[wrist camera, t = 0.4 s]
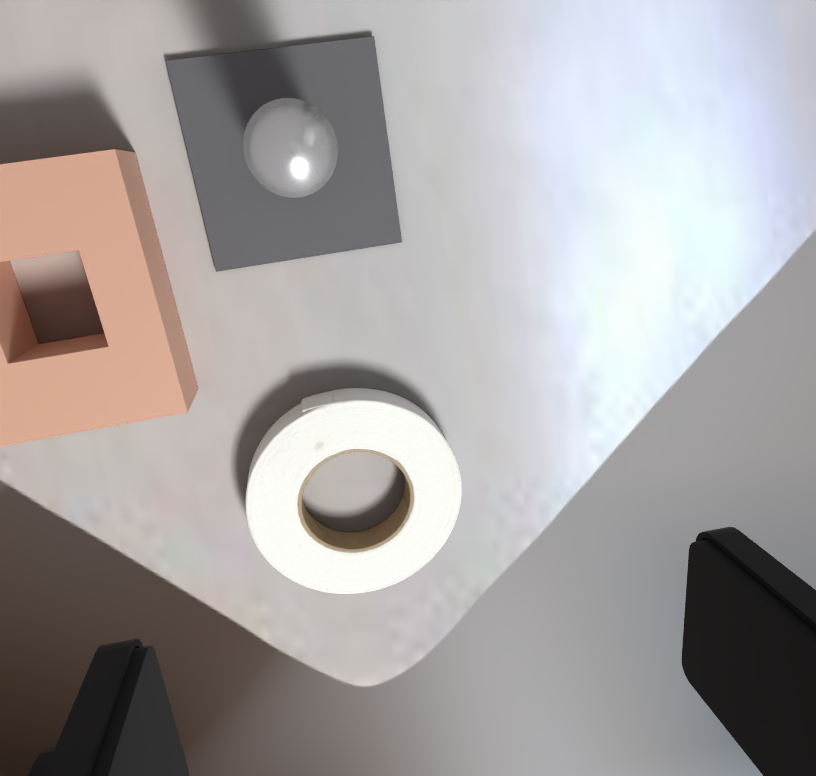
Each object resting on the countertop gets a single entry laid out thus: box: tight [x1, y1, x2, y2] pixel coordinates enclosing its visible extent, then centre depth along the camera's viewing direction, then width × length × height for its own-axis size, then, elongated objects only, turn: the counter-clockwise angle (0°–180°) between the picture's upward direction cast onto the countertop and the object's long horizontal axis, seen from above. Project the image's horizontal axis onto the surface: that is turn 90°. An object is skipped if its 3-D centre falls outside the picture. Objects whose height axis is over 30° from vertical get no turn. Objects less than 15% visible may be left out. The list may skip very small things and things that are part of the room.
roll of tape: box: [245, 388, 462, 594], centre depth 45 cm, size 16×15×3 cm
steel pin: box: [243, 98, 338, 198], centre depth 32 cm, size 4×4×12 cm
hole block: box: [0, 149, 198, 447], centre depth 36 cm, size 15×12×4 cm
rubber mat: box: [166, 36, 402, 272], centre depth 38 cm, size 12×12×1 cm
